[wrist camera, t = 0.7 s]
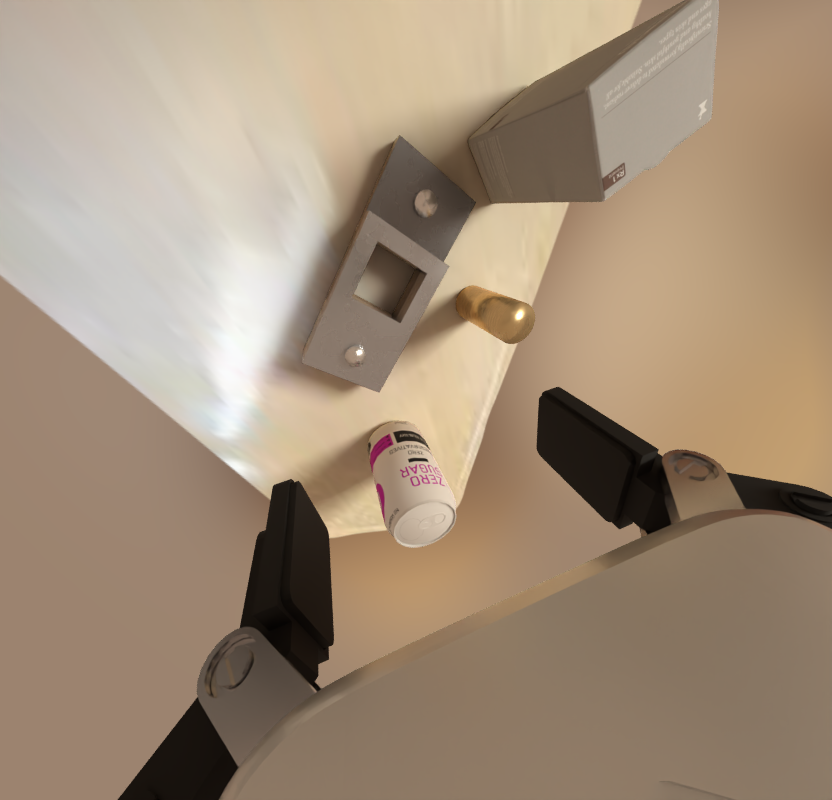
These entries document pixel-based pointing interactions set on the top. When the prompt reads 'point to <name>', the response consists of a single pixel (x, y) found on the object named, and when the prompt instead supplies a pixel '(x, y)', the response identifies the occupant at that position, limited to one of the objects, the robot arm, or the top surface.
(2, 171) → the top surface
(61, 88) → the top surface
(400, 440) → the supplement can
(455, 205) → the grey plate with window
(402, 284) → the top surface
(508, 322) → the brass pin
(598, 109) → the skincare box
